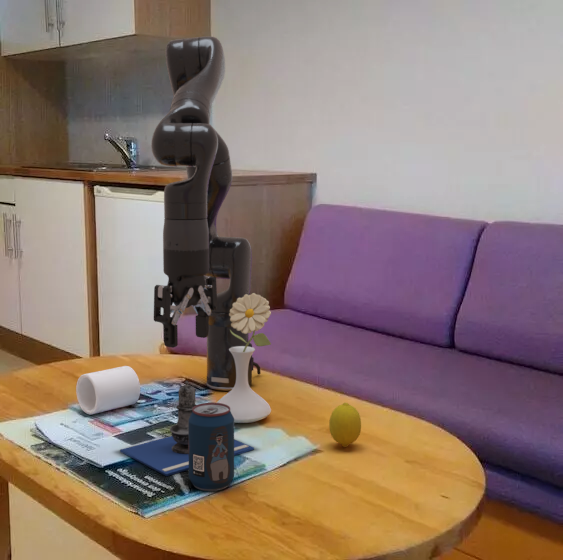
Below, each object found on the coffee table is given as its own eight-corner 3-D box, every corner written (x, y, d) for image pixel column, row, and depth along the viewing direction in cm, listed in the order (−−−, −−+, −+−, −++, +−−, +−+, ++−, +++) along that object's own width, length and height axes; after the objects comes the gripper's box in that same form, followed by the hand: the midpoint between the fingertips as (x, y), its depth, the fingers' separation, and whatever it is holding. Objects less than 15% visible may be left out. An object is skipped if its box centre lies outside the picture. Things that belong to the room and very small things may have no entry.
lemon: (363, 443, 137) (364, 400, 136) (356, 454, 131) (357, 409, 130) (333, 439, 138) (334, 396, 137) (325, 450, 133) (326, 405, 132)
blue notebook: (205, 429, 143) (205, 426, 143) (254, 449, 133) (254, 447, 133) (120, 451, 131) (120, 449, 131) (166, 476, 121) (166, 473, 121)
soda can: (206, 471, 123) (206, 398, 122) (242, 480, 120) (243, 406, 118) (179, 486, 117) (178, 410, 116) (216, 496, 114) (216, 418, 112)
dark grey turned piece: (210, 445, 134) (210, 378, 132) (192, 456, 128) (192, 387, 127) (181, 440, 136) (181, 374, 134) (163, 451, 131) (162, 382, 129)
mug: (141, 408, 155) (140, 369, 154) (98, 419, 148) (97, 378, 147) (108, 395, 164) (107, 358, 162) (65, 405, 156) (64, 367, 155)
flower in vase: (200, 418, 149) (199, 291, 146) (242, 405, 158) (242, 284, 154) (247, 434, 140) (248, 299, 137) (289, 420, 149) (291, 292, 145)
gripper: (177, 251, 119) (178, 353, 122) (229, 243, 132) (229, 336, 134) (140, 248, 123) (141, 347, 126) (193, 241, 135) (194, 331, 138)
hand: (187, 341), depth 130 cm, fingers open, 8 cm apart
